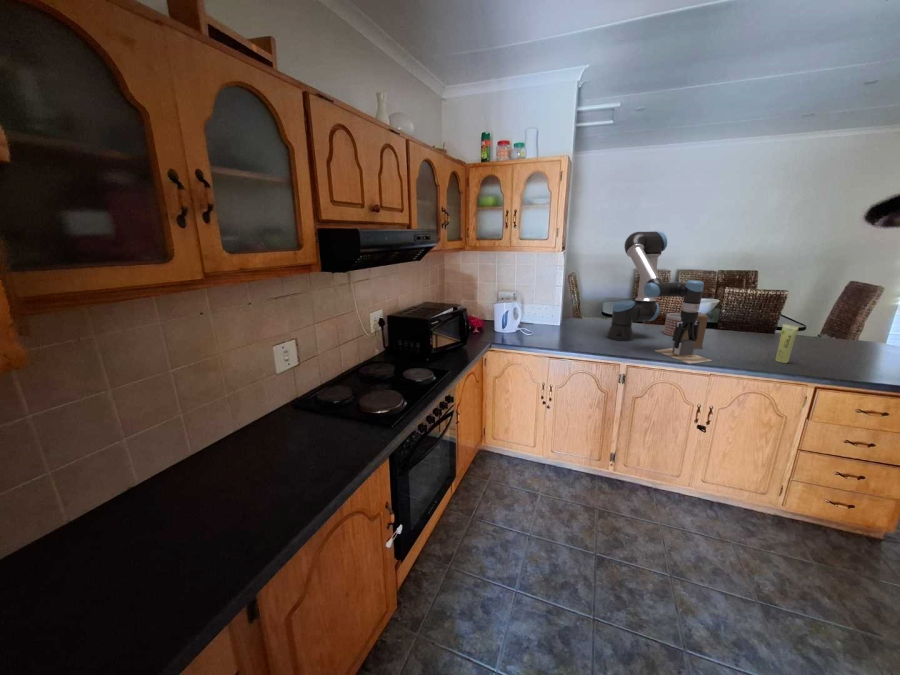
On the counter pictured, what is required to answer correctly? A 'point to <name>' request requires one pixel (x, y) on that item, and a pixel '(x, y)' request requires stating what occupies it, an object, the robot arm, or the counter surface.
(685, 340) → the block
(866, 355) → the counter surface
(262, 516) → the counter surface
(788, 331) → the tube
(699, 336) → the wooden block
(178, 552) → the counter surface
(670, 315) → the planter
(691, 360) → the board
